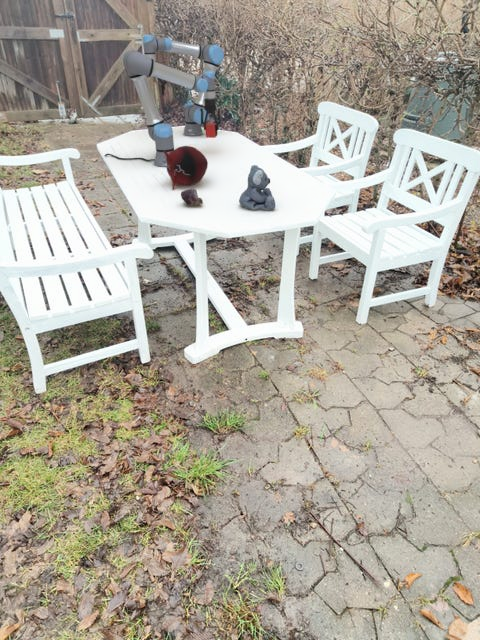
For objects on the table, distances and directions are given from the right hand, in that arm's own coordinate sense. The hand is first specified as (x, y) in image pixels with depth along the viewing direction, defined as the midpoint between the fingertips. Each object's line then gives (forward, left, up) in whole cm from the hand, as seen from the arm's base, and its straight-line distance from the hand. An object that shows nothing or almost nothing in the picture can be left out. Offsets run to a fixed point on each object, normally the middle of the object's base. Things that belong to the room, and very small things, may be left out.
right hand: (154, 95), depth 324 cm
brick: (+43, +31, -22) cm, 57 cm away
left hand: (+43, +31, -21) cm, 57 cm away
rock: (+140, -6, -33) cm, 144 cm away
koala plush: (+152, +26, -33) cm, 158 cm away
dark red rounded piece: (+104, 0, -33) cm, 109 cm away
